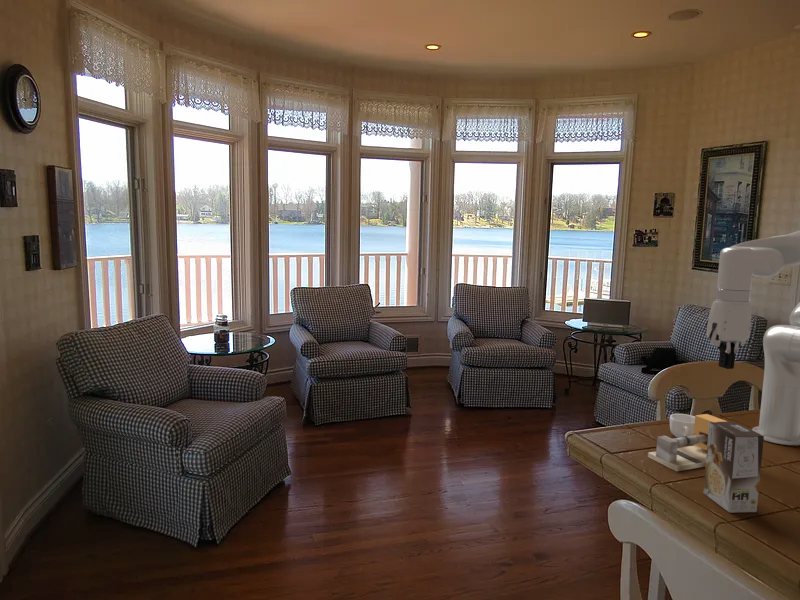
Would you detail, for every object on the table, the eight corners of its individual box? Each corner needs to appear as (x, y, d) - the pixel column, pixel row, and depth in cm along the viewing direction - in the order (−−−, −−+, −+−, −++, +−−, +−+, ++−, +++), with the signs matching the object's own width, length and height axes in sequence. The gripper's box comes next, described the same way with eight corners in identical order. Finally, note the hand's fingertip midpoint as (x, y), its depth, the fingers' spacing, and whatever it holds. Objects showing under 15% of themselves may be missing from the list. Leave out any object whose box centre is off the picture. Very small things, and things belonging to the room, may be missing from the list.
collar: (704, 442, 147) (706, 413, 146) (724, 450, 142) (727, 421, 141) (692, 444, 146) (695, 415, 145) (712, 452, 140) (715, 422, 139)
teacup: (667, 430, 163) (669, 412, 162) (697, 434, 160) (699, 416, 160) (669, 442, 154) (670, 422, 153) (701, 446, 151) (703, 427, 150)
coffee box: (758, 512, 115) (766, 436, 113) (728, 513, 115) (736, 436, 113) (729, 492, 124) (735, 420, 122) (701, 492, 124) (707, 421, 122)
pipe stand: (707, 447, 150) (709, 425, 149) (738, 460, 142) (740, 436, 141) (647, 457, 143) (649, 433, 142) (676, 471, 135) (678, 446, 134)
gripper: (742, 294, 150) (735, 363, 152) (697, 295, 145) (691, 365, 147) (768, 298, 143) (761, 369, 145) (722, 298, 138) (715, 372, 140)
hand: (726, 367), depth 146 cm, fingers closed
